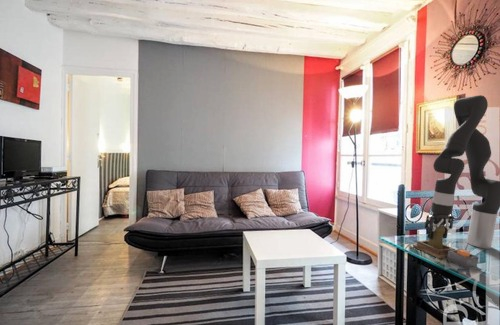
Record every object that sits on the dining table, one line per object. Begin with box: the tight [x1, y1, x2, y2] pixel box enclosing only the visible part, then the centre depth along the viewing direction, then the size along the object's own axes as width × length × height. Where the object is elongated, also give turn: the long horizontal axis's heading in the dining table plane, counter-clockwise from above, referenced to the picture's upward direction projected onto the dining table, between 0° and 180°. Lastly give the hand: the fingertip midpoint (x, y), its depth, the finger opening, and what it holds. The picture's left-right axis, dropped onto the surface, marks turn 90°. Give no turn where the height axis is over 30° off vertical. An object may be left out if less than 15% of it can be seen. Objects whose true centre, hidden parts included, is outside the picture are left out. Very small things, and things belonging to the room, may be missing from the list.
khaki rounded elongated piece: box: [427, 226, 445, 249], centre depth 117 cm, size 6×6×11 cm
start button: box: [456, 248, 471, 257], centre depth 107 cm, size 4×4×3 cm
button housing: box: [446, 249, 479, 269], centre depth 107 cm, size 7×7×4 cm
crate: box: [412, 239, 456, 259], centre depth 117 cm, size 12×12×3 cm
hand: (436, 238), depth 117 cm, fingers open, 8 cm apart
